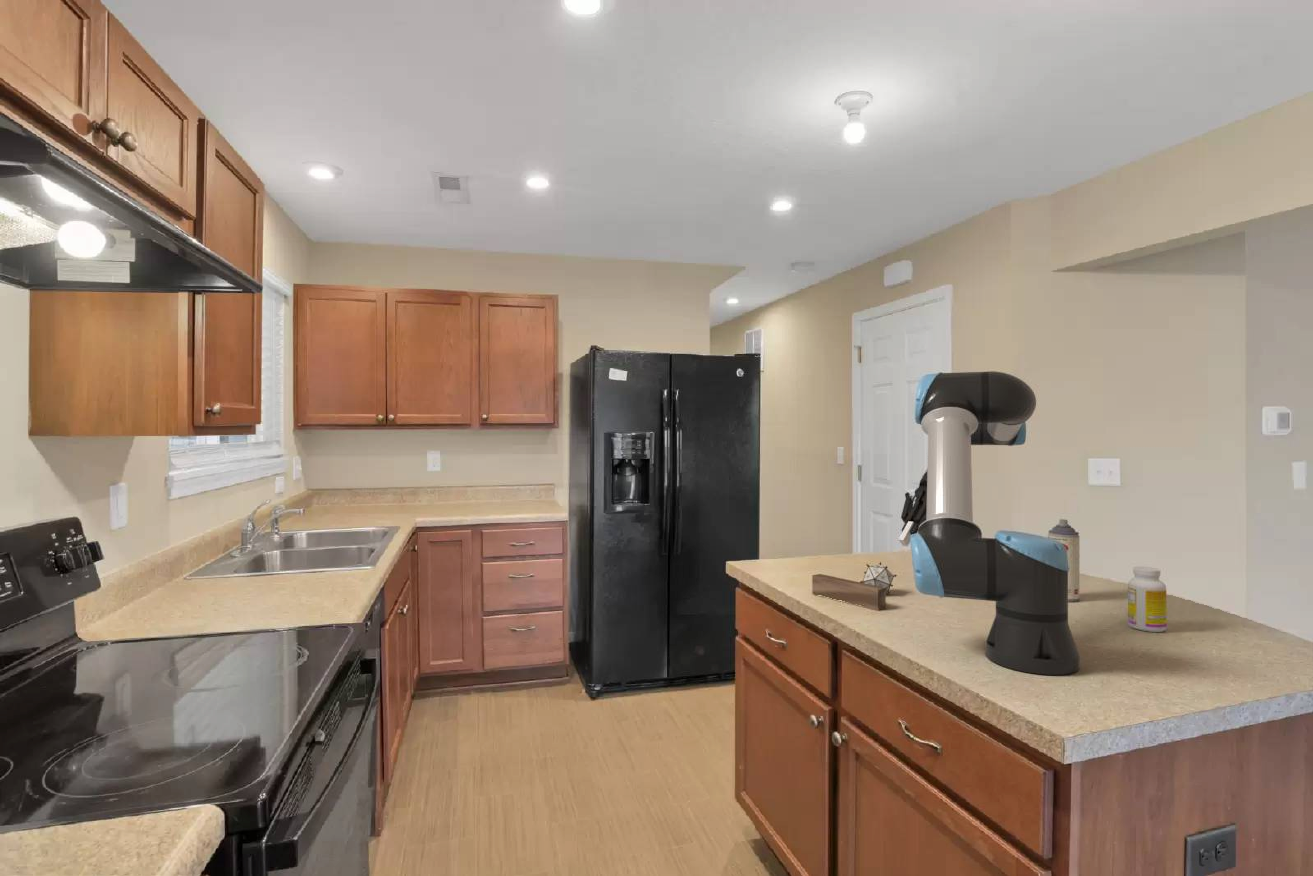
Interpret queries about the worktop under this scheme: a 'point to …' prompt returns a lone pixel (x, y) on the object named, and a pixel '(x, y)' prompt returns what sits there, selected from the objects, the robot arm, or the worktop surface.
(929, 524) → the robot arm
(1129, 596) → the supplement bottle
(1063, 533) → the aerosol can
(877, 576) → the game die
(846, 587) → the rail
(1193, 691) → the worktop surface
